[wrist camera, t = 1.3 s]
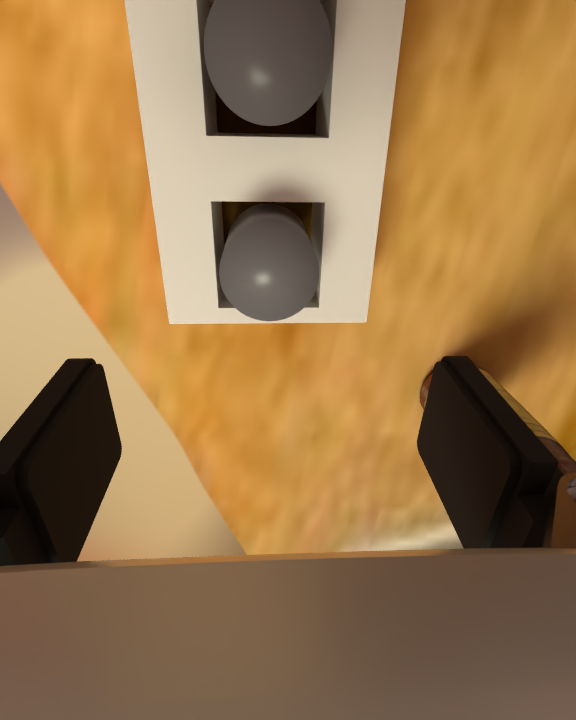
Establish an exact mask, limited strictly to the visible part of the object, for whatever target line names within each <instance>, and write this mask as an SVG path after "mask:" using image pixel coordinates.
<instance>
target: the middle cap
mask: <svg viewBox="0 0 576 720" xmlns="http://www.w3.org/2000/svg"><path fill="white" fill-rule="evenodd" d="M204 55H205V62H206V67H207V71H208V74H209V77H210V80H211V82H212V84H213V86H214V88H215V90H216V92H217V93H218V95H219V97H220V98H221V99H222V101H223V102H224V103H225V105H226V106H227V107H228V108H229V109H230V110H231V111H233V112H234V113H235V114H237V115H238V116H239V117H241V118H243V119H244V120H246V121H249V122H251V123H254V124H258V125H263V126H277V125H282V124H286V123H289V122H291V121H293V120H295V119H297V118H299V117H300V116H301V115H303V114H304V113H306V112H307V111H308V110H309V109H310V108H311V107H312V105H313V104H314V103H315V102H316V100H317V99H318V97H319V96H320V94H321V93H322V91H323V88H324V86H325V84H326V81H327V78H328V75H329V72H330V67H331V60H332V37H331V31H330V26H329V22H328V19H327V16H326V13H325V11H324V9H323V6H322V4H321V3H320V1H319V0H214V2H213V5H212V7H211V9H210V12H209V15H208V18H207V21H206V26H205V33H204Z"/></svg>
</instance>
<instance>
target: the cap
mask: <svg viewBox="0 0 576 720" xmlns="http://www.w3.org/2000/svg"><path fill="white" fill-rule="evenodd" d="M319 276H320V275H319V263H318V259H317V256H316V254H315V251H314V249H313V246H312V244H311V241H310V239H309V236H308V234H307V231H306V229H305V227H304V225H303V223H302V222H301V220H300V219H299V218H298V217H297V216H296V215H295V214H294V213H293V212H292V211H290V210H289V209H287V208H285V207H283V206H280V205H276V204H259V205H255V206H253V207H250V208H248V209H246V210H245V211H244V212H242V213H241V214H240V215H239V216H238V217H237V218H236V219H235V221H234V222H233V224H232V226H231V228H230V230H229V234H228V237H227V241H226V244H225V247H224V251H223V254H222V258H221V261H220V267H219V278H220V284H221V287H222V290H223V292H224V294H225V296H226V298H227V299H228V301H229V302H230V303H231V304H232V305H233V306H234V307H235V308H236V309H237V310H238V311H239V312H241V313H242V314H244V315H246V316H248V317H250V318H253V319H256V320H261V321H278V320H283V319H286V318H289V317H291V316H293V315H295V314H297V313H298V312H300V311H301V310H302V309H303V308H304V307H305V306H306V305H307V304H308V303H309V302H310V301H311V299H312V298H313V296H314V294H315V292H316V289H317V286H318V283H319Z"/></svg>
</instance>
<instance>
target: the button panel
mask: <svg viewBox="0 0 576 720" xmlns="http://www.w3.org/2000/svg"><path fill="white" fill-rule="evenodd" d="M319 1H320V3H321V4H322V6H323V9H324V11H325V13H326V16H327V19H328V22H329V26H330V31H331V37H332V60H331V67H330V72H329V75H328V78H327V81H326V84H325V86H324V88H323V91H322V93H321V94H320V96H319V97H318V99H317V108H316V130H315V134H264V133H217V116H216V99H215V88H214V86H213V84H212V82H211V80H210V77H209V74H208V71H207V67H206V62H205V55H204V33H205V26H206V21H207V18H208V15H209V12H210V5H211V6H212V5H213V2H214V0H125V7H126V14H127V21H128V28H129V36H130V43H131V50H132V57H133V65H134V72H135V79H136V86H137V94H138V101H139V108H140V115H141V122H142V130H143V137H144V144H145V151H146V159H147V166H148V173H149V180H150V188H151V195H152V202H153V209H154V217H155V224H156V231H157V238H158V246H159V253H160V260H161V267H162V274H163V282H164V289H165V296H166V303H167V311H168V318H169V324H219V323H351V322H366V321H367V313H368V305H369V297H370V289H371V281H372V272H373V264H374V256H375V248H376V240H377V232H378V223H379V215H380V207H381V199H382V191H383V183H384V175H385V166H386V158H387V150H388V142H389V134H390V126H391V118H392V109H393V101H394V93H395V85H396V77H397V69H398V60H399V52H400V44H401V36H402V28H403V20H404V12H405V3H406V0H319ZM222 201H233V202H312V221H311V244H312V246H313V249H314V251H315V254H316V256H317V259H318V263H319V275H320V276H319V283H318V286H317V289H316V292H315V294H314V296H313V298H312V299H311V301H310V302H309V303H308V304H307V305H306V306H305V307H304V308H303V309H302V310H301V311H300V312H298V313H297V314H295V315H293V316H291V317H289V318H286V319H283V320H278V321H261V320H256V319H253V318H250V317H248V316H246V315H244V314H242V313H241V312H239V311H238V310H237V309H236V308H235V307H234V306H233V305H232V304H231V303H230V302H229V301H228V299H227V298H226V296H225V294H224V292H223V290H222V287H221V284H220V278H219V267H220V261H221V258H222V254H223V251H224V234H223V217H222Z"/></svg>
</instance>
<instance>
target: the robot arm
mask: <svg viewBox="0 0 576 720" xmlns="http://www.w3.org/2000/svg"><path fill="white" fill-rule="evenodd" d="M121 447H122V446H121V441H120V437H119V432H118V428H117V424H116V419H115V415H114V411H113V407H112V402H111V398H110V394H109V389H108V385H107V381H106V376H105V372H104V369H103V366H102V365H101V364H96V362H95V360H94V359H92V358H90V359H89V358H84V359H67V360H66V361H65V362H64V364H63V365H62V366H61V367H60V369H59V370H58V371H57V372H56V373H55V375H54V376H53V377H52V378H51V380H50V381H49V382H48V384H47V385H46V386H45V387H44V388H43V389H42V391H41V392H40V393H39V394H38V396H37V397H36V398H35V399H34V400H33V402H32V403H31V404H30V405H29V407H28V408H27V409H26V410H25V412H24V413H23V414H22V415H21V416H20V418H19V419H18V420H17V421H16V423H15V424H14V425H13V426H12V427H11V429H10V430H9V431H8V432H7V434H6V435H5V436H4V437H3V438H2V440H1V441H0V720H576V472H575V473H568V474H566V475H564V474H563V473H562V471H561V470H560V469H559V468H558V467H557V465H558V463H559V462H558V460H557V459H556V458H555V457H554V456H553V455H552V453H551V452H550V451H549V450H548V449H547V448H546V447H545V445H544V444H543V443H542V442H541V441H540V440H539V438H538V437H537V436H536V435H535V434H534V433H533V431H532V430H531V429H530V428H529V427H528V426H527V425H526V423H525V422H524V421H523V420H522V419H521V418H520V416H519V415H518V414H517V413H516V412H515V411H514V409H513V408H512V407H511V406H510V405H509V404H508V403H507V401H506V400H505V399H504V398H503V397H502V396H501V394H500V393H499V392H498V391H497V390H496V389H495V387H494V386H493V385H492V384H491V383H490V382H489V381H488V379H487V378H486V377H485V376H484V375H483V374H482V372H481V371H480V370H479V369H478V368H477V367H476V366H475V364H474V363H473V362H472V361H471V360H470V359H469V358H468V357H467V356H445V357H443V358H442V360H441V362H436V364H435V366H434V370H433V374H432V378H431V383H430V387H429V391H428V396H427V400H426V404H425V408H424V413H423V417H422V421H421V426H420V430H419V434H418V439H417V447H418V451H419V454H420V456H421V458H422V460H423V462H424V465H425V467H426V469H427V471H428V473H429V475H430V477H431V479H432V482H433V484H434V486H435V488H436V490H437V492H438V494H439V497H440V499H441V501H442V503H443V505H444V507H445V509H446V511H447V514H448V516H449V518H450V520H451V522H452V524H453V526H454V529H455V531H456V533H457V535H458V537H459V539H460V541H461V543H462V546H463V548H464V549H432V550H395V551H359V552H328V553H296V554H266V555H238V556H209V557H183V558H159V559H158V558H157V559H131V560H105V561H83V562H77V559H78V557H79V555H80V552H81V549H82V548H83V545H84V543H85V540H86V538H87V536H88V533H89V531H90V529H91V526H92V524H93V521H94V519H95V516H96V514H97V512H98V509H99V507H100V505H101V502H102V500H103V498H104V495H105V493H106V491H107V488H108V486H109V483H110V481H111V479H112V476H113V474H114V472H115V469H116V467H117V464H118V462H119V460H120V457H121V449H122V448H121Z"/></svg>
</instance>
